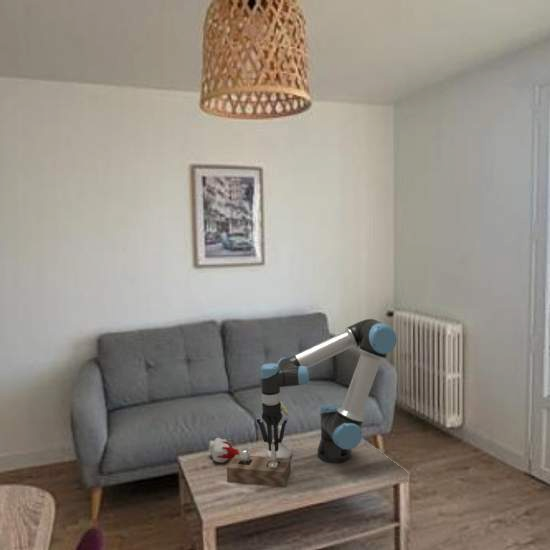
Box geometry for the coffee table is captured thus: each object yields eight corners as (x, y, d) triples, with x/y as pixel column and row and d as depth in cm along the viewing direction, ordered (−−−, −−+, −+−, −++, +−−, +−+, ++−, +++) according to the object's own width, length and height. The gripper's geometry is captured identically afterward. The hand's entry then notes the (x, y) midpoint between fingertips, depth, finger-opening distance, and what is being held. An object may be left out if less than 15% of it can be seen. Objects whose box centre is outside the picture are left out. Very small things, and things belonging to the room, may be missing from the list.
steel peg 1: (251, 461, 209) (250, 448, 209) (248, 465, 206) (248, 452, 205) (242, 460, 210) (241, 447, 210) (239, 464, 207) (238, 451, 206)
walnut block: (291, 472, 210) (290, 458, 210) (284, 486, 198) (284, 472, 198) (236, 467, 216) (235, 454, 215) (227, 481, 204) (226, 467, 204)
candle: (208, 453, 230) (241, 457, 228) (202, 464, 219) (236, 469, 217) (210, 434, 229) (242, 438, 228) (204, 444, 218) (238, 449, 216)
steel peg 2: (279, 474, 207) (279, 461, 207) (277, 479, 203) (276, 466, 203) (270, 473, 208) (269, 461, 208) (267, 478, 204) (267, 465, 204)
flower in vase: (287, 464, 218) (286, 408, 215) (263, 461, 221) (261, 406, 219) (296, 451, 230) (294, 398, 228) (272, 448, 233) (270, 396, 231)
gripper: (289, 399, 205) (291, 455, 207) (258, 398, 208) (261, 453, 210) (285, 406, 198) (287, 463, 200) (253, 405, 201) (256, 461, 203)
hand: (274, 458), depth 205 cm, fingers closed
